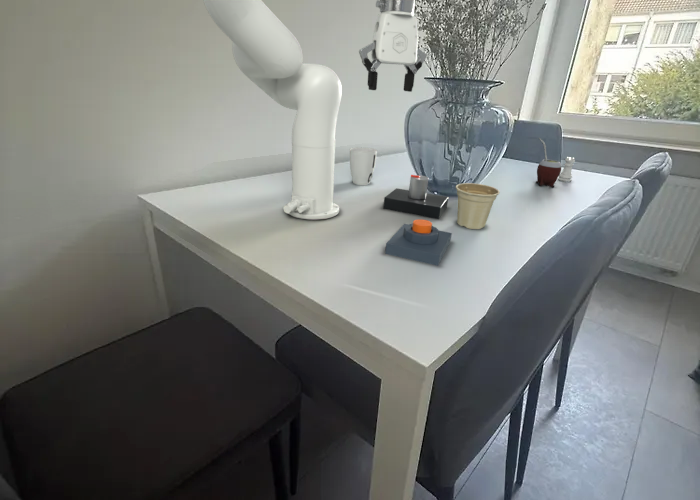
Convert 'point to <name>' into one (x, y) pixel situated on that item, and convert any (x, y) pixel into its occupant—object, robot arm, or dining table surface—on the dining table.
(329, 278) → the dining table surface
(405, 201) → the panel
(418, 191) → the dial
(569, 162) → the rook chess piece
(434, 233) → the button housing
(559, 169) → the mate gourd
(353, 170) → the cup
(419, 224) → the button
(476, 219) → the flower pot
